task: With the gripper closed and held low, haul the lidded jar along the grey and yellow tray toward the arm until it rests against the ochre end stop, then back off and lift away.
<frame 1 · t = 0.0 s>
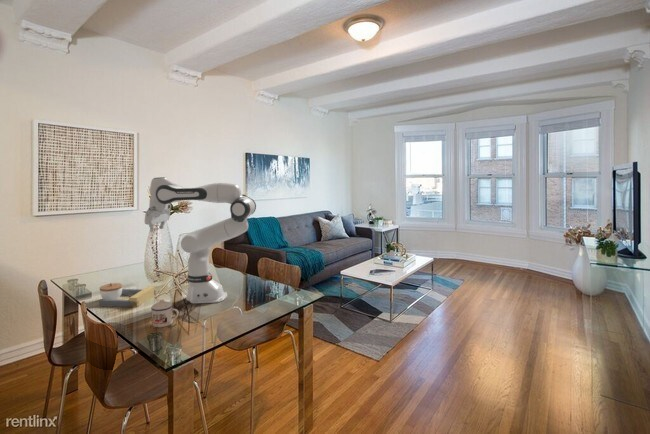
hand: (157, 230, 189), 39 cm above the table, tool pointing down, fingers open, 8 cm apart
teacup with lid: (166, 323, 160), on the table
lidded jar: (112, 299, 188), on the table
grey and yellow tray: (128, 299, 188), on the table
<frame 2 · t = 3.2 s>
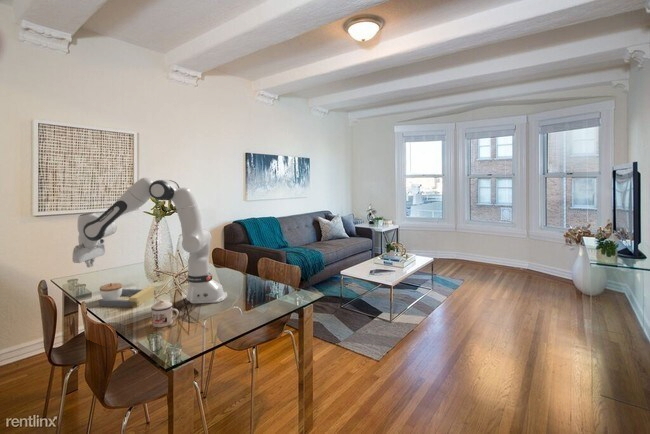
hand: (90, 266, 186), 19 cm above the table, tool pointing down, fingers closed
nothing on the table moved.
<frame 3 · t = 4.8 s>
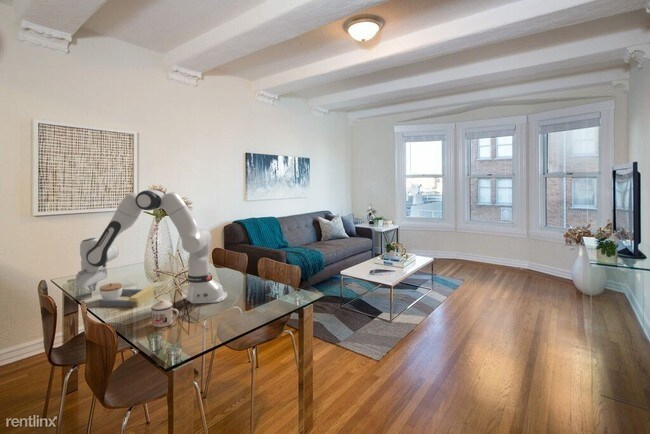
hand: (92, 291, 188), 5 cm above the table, tool pointing down, fingers closed
nothing on the table moved.
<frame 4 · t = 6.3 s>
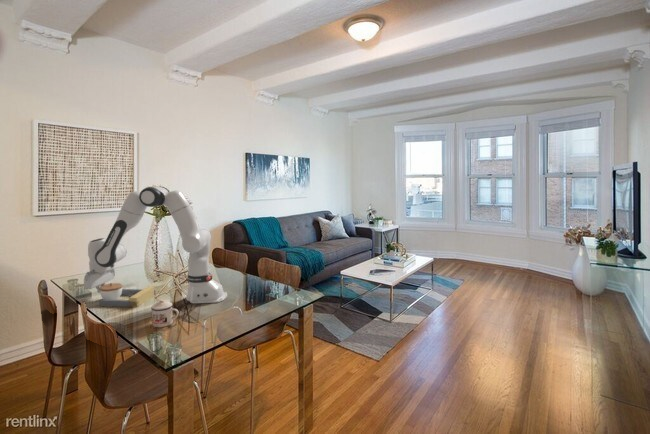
hand: (100, 291, 188), 4 cm above the table, tool pointing down, fingers closed, pressing on lidded jar
lidded jar: (112, 299, 188), on the table, touching gripper
everything else where it was.
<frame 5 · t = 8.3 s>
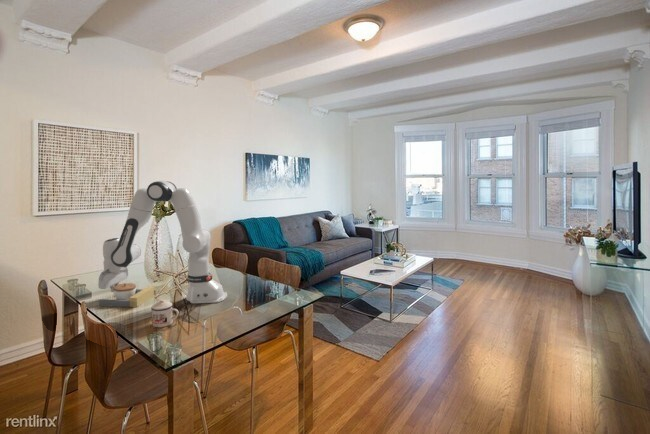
hand: (114, 291, 187), 5 cm above the table, tool pointing down, fingers closed, pressing on lidded jar
lidded jar: (125, 299, 188), on the table, touching gripper
everything else where it was.
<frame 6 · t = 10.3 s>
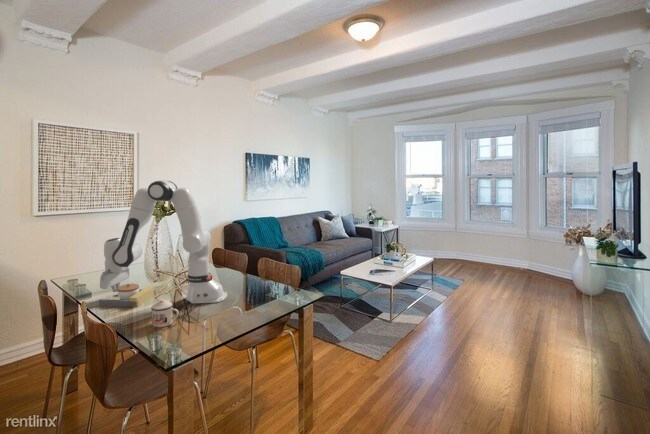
hand: (115, 291, 187), 5 cm above the table, tool pointing down, fingers closed
lidded jar: (129, 300, 188), on the table
everything else where it was.
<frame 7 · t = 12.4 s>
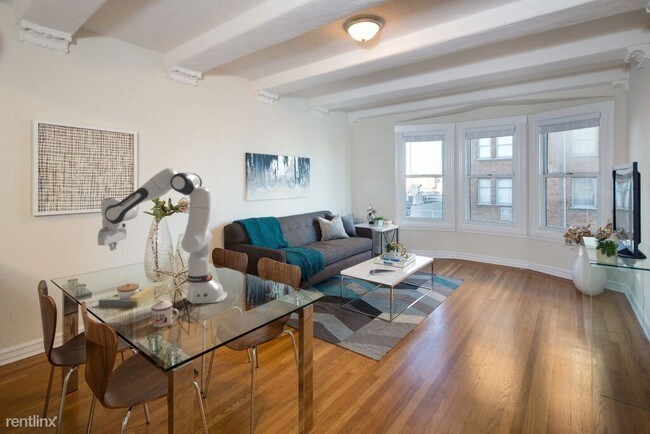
hand: (113, 250, 191), 27 cm above the table, tool pointing down, fingers closed
nothing on the table moved.
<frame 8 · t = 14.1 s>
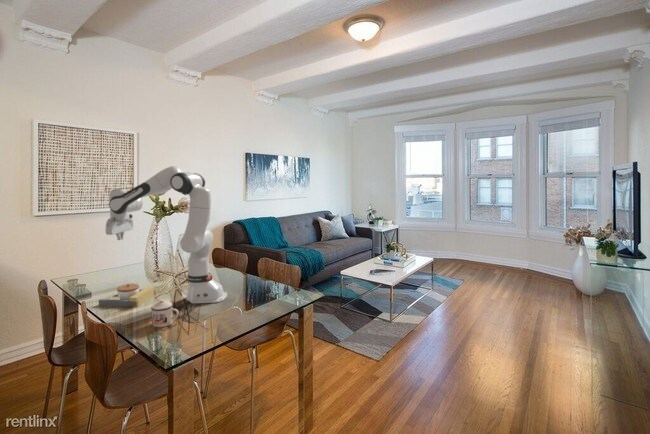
hand: (120, 239, 199), 31 cm above the table, tool pointing down, fingers closed
nothing on the table moved.
at the end: lidded jar inside the target area (0.2 cm from its centre), on the table; lidded jar moved 9.9 cm from its start; lidded jar tilted 0° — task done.
